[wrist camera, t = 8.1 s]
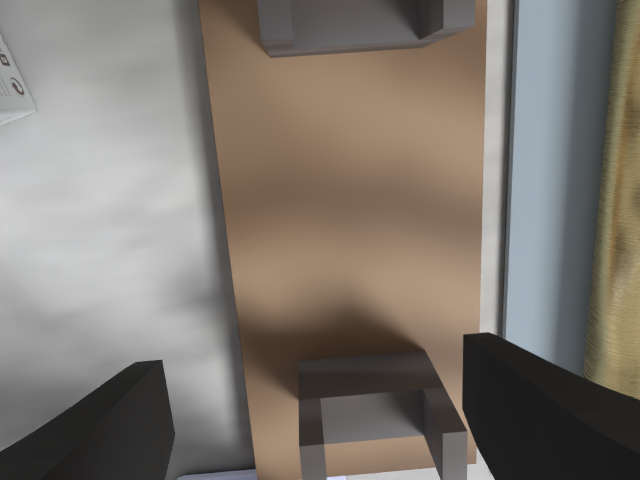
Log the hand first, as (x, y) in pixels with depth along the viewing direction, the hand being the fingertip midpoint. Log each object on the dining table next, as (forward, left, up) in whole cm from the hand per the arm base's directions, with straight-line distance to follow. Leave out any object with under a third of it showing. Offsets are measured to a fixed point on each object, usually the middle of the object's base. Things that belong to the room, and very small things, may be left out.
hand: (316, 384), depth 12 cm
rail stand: (+2, -2, -9) cm, 10 cm away
